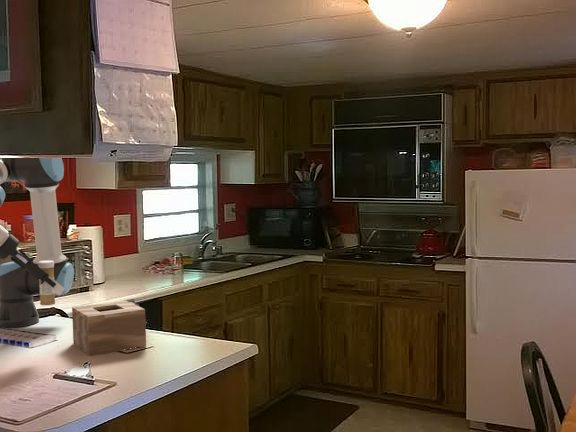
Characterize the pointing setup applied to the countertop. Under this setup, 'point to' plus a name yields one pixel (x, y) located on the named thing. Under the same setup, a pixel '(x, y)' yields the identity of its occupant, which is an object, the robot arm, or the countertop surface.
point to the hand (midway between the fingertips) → (59, 290)
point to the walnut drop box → (108, 327)
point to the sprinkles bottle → (45, 292)
